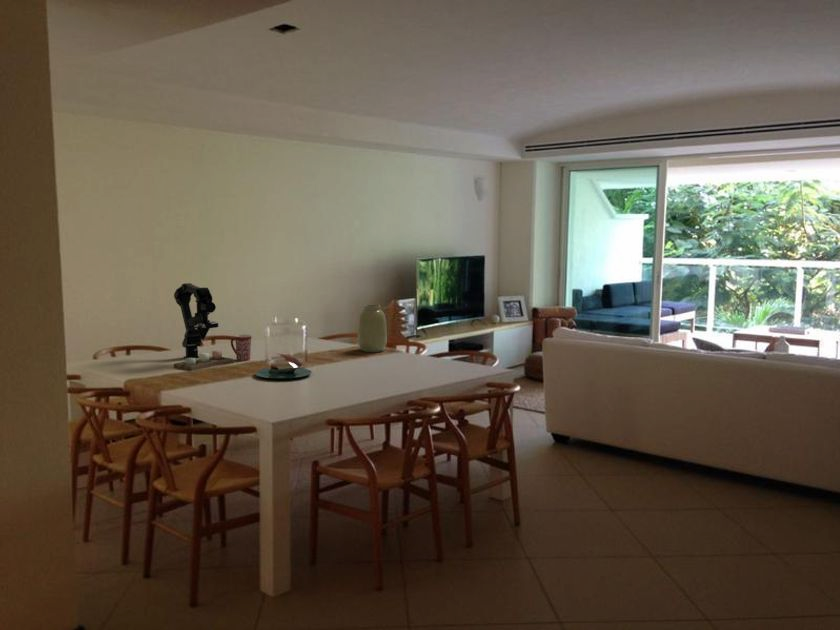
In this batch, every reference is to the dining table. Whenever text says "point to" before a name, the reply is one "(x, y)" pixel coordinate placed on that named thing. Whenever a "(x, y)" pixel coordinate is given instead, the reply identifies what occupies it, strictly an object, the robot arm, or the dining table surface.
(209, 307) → the robot arm
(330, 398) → the dining table surface
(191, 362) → the button sage
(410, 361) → the dining table surface
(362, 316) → the vase
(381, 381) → the dining table surface
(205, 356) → the button cream
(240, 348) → the mug
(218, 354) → the button terracotta
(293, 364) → the dark teal dish
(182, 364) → the button board
